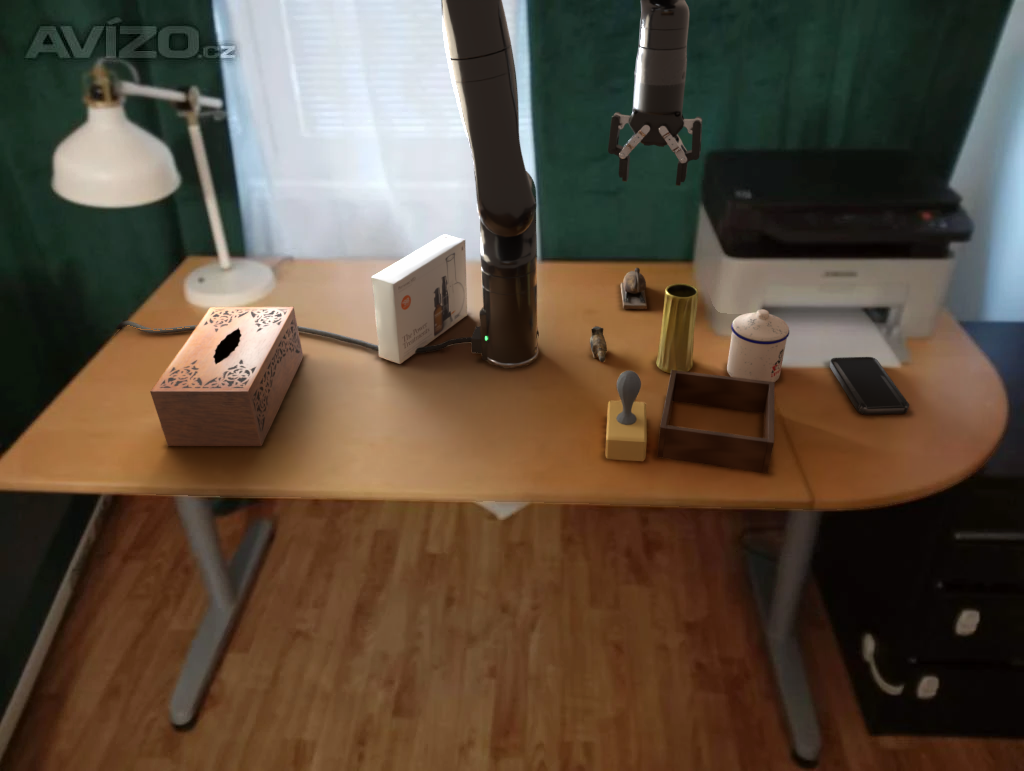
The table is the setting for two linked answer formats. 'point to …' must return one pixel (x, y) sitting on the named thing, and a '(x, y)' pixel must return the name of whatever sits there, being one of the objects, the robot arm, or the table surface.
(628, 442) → the rubber stamp
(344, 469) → the table surface
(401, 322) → the skincare box
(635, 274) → the figurine
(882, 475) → the table surface
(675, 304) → the vase
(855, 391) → the phone
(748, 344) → the teacup with lid
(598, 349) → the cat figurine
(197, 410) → the tissue box cover
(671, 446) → the crate
